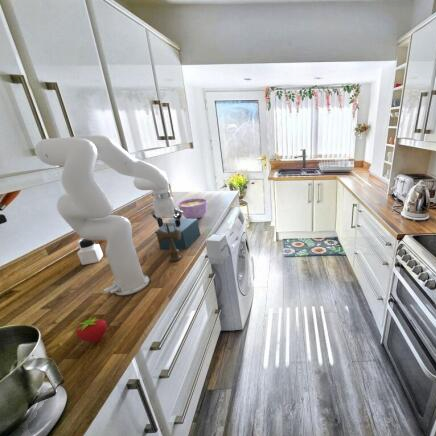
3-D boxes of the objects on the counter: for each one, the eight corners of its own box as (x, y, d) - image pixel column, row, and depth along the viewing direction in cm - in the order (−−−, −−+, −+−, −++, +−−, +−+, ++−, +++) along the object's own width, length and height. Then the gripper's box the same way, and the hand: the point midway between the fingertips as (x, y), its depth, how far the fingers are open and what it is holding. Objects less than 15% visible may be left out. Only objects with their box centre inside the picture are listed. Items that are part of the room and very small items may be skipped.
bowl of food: (177, 217, 177) (173, 202, 173) (203, 210, 189) (200, 196, 185) (186, 224, 163) (183, 208, 159) (214, 217, 175) (211, 202, 171)
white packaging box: (222, 265, 114) (219, 241, 109) (208, 263, 115) (204, 240, 110) (229, 257, 120) (226, 234, 116) (216, 256, 122) (212, 233, 117)
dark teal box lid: (181, 233, 126) (180, 224, 124) (154, 233, 127) (152, 224, 125) (197, 219, 143) (196, 211, 141) (173, 219, 144) (171, 212, 142)
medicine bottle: (103, 255, 126) (96, 235, 122) (99, 262, 120) (90, 240, 116) (87, 258, 124) (79, 237, 120) (81, 265, 118) (72, 243, 113)
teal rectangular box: (186, 249, 130) (182, 232, 126) (160, 248, 131) (155, 232, 128) (200, 234, 147) (197, 219, 143) (177, 234, 148) (173, 219, 144)
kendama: (168, 257, 122) (158, 221, 115) (187, 255, 123) (179, 220, 116) (163, 263, 117) (153, 226, 110) (183, 262, 117) (174, 224, 110)
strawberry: (108, 346, 73) (97, 321, 69) (78, 353, 71) (66, 328, 67) (115, 331, 78) (105, 307, 74) (87, 337, 76) (76, 313, 72)
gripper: (141, 197, 118) (150, 229, 125) (174, 197, 117) (182, 229, 123) (150, 193, 125) (158, 223, 132) (182, 193, 124) (188, 223, 130)
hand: (170, 226), depth 128 cm, fingers open, 9 cm apart
